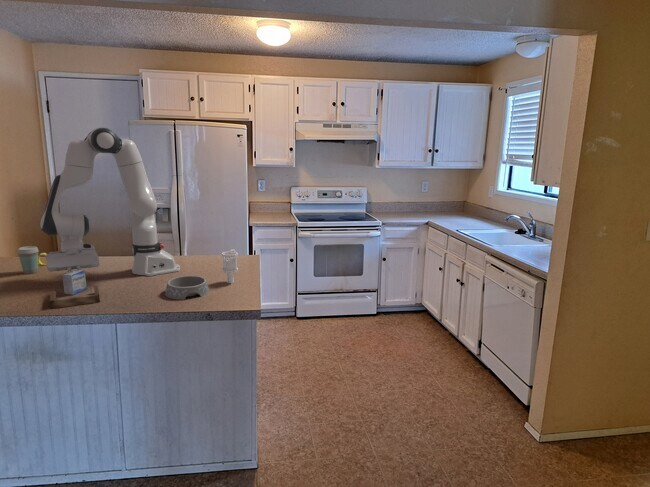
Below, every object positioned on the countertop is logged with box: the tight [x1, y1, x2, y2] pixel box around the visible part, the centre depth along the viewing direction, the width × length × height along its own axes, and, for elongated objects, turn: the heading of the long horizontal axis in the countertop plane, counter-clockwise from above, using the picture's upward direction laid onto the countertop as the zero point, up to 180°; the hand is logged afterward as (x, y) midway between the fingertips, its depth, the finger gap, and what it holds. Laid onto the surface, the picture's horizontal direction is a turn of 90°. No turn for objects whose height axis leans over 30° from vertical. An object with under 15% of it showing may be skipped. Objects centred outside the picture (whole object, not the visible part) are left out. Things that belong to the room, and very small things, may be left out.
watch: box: [38, 252, 47, 266], centre depth 226 cm, size 6×3×6 cm, turn 87°
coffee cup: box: [17, 245, 40, 275], centre depth 213 cm, size 9×9×12 cm
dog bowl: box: [164, 275, 210, 300], centre depth 192 cm, size 17×18×5 cm
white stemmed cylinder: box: [221, 248, 239, 284], centre depth 205 cm, size 7×7×15 cm
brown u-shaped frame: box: [49, 285, 101, 310], centre depth 180 cm, size 17×12×3 cm
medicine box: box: [61, 269, 88, 296], centre depth 189 cm, size 8×4×9 cm, turn 168°
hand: (74, 276), depth 195 cm, fingers closed
